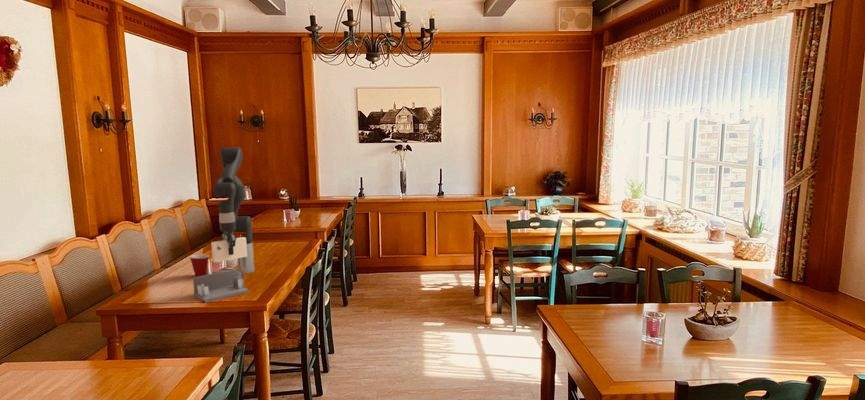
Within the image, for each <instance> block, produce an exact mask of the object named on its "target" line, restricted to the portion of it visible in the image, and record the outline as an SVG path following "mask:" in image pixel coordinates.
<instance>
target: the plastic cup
mask: <svg viewBox="0 0 865 400" xmlns="http://www.w3.org/2000/svg"><path fill="white" fill-rule="evenodd" d="M210 256H211V255H210V254H193V255H189V257H188V258H189V259H190V261H191V265H192V269H193V272H194V275H195V277H199V276H204V275H207V271H208V264H209V258H210Z"/></svg>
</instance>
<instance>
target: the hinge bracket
mask: <svg viewBox="0 0 865 400" xmlns="http://www.w3.org/2000/svg"><path fill="white" fill-rule="evenodd" d="M218 272H219V271H218ZM218 272H214V273H210V274H206V275H204V276H199V277H196V276H195V277H192V283H193V296H194V297H196V298H197V299H199V300H200V301H202V302H203V303H211V302H214V301H218V300H223V299H227V298H231V297H235V296H240V295H244V294H248V293H250V289H248V288H246V287H245V281H244V280H245V279H243V278H241V277H239V276H237V270H236V269H233V270H228V271H223V272H219V273H218Z"/></svg>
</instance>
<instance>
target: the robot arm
mask: <svg viewBox="0 0 865 400" xmlns="http://www.w3.org/2000/svg"><path fill="white" fill-rule="evenodd" d="M243 158H244V157H243V150H242V148H240V147H238V146H231V147H222V148H221V150H220V159H221V164H222V168H223V169H222V170H221V173H220V178H218V180H217V181H216V182H215V184H214V186H213V193H214V195H215V196H216V197H221V198H222V197H227V199H226V200H222V201H219V202H218V211H219V213H218V214H219V215H218V216H219V217H218V219H219V230H220V231H221V232H222V233H221V234H220V235H221V241H222V240H226V241H227V243H228V249H229V255H233V254H234V252H233V247H234V246H235V243H236V238H237V236H236V235H234V233H245V234H244V235H242V236H239V238H242V237H245V238H246V244H247V257H242V258H236V260H237V267H238V268H241V269H243V270H244V272H245V274H249V273H253V272H255V257H254V246H253V245H254V243H253V223H252V218H251V216H248V215H245V216H244V215H242V216H241V215H240V216H238V212H239V209H240V206H241V204H242V202H243V201H244V199H245V196H246V193H245V187H244V184H243V181H242V180H241V179H240V178H239V177H238V176H237V175H236V174H237V172H238V170H239V168H240V166H241V164H242V162H243ZM229 241H230V242H229Z"/></svg>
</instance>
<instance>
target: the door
mask: <svg viewBox="0 0 865 400" xmlns="http://www.w3.org/2000/svg"><path fill="white" fill-rule="evenodd" d="M241 237H242V236H241ZM229 242H230V241H229ZM210 245H211V256H212V262H213V263H219V262H224V261H231V260H237V258H242V257H247V244H246V238H245V237H242V238H240V237H236V243H235V246H234V247H233V252H234V254H233V255H229V249H228V243H227V241H226V240H222V239H221V240H217V241H211V243H210Z"/></svg>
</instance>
